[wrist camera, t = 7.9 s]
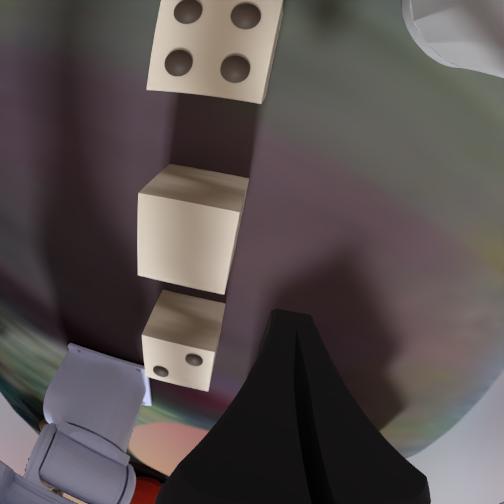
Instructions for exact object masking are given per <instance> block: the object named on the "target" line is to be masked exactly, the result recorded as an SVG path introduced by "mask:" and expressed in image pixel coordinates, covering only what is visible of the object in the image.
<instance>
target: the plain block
mask: <svg viewBox="0 0 504 504" xmlns="http://www.w3.org/2000/svg"><path fill="white" fill-rule="evenodd" d="M248 183H249V178H244V177H239V176H234V175H229V174H224V173H219V172H214V171H208V170H203V169H197V168H192V167H186V166H180V165H174V164H169V165H168V166H167V167H166V168H164V169H163V170H162V171H161V172H160V173H159V174H158V175H157V176H156V177H155V178H154V179H153V180H151V181H150V182H149V183H148V184H147V185H146V186H145V187H144V188H143V189H142V190H141V191H140V192H139V193H138V228H137V256H138V275H139V276H143V277H147V278H151V279H156V280H160V281H164V282H168V283H173V284H177V285H182V286H186V287H191V288H195V289H200V290H204V291H209V292H214V293H218V294H223V295H224V294H225V290H226V285H227V281H228V277H229V273H230V269H231V264H232V260H233V256H234V252H235V248H236V243H237V237H238V232H239V227H240V222H241V217H242V212H243V207H244V202H245V197H246V192H247V187H248Z"/></svg>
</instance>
